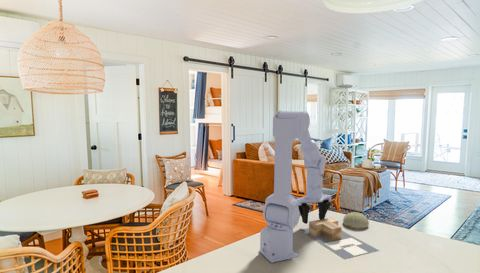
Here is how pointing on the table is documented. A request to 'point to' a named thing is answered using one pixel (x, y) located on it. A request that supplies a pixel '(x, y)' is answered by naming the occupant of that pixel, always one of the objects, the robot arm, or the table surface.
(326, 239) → the T board
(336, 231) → the T block
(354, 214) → the sea urchin shell
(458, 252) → the table surface
